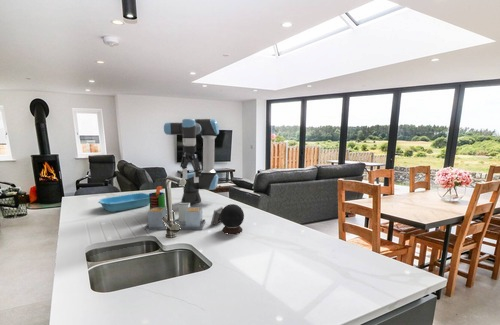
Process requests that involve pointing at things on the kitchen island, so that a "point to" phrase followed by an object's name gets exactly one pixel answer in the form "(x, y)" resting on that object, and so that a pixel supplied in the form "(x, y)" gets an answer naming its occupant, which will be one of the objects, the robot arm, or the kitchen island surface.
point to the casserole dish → (125, 202)
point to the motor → (157, 198)
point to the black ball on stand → (232, 219)
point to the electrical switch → (216, 216)
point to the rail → (191, 223)
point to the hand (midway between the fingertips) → (190, 180)
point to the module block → (182, 210)
